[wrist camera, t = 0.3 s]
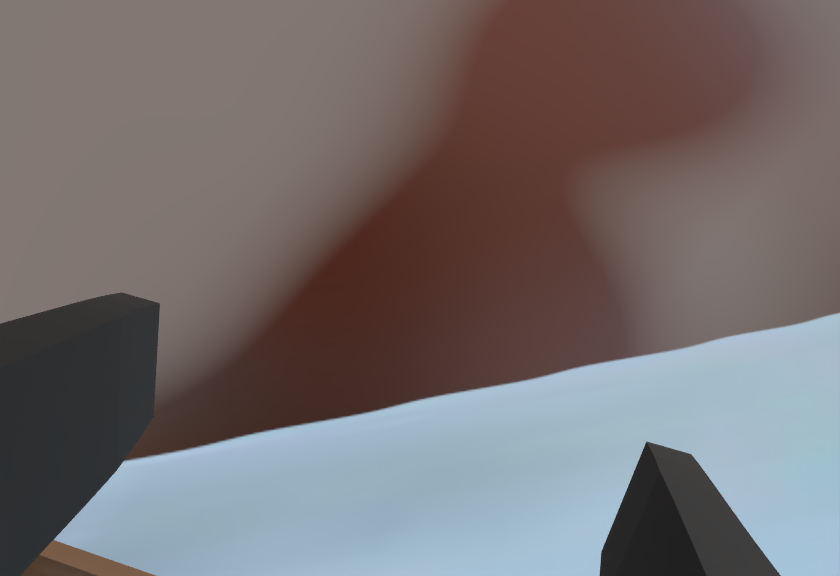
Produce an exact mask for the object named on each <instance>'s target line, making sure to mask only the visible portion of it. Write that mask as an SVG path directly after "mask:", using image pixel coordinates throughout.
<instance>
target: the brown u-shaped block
mask: <svg viewBox="0 0 840 576" xmlns="http://www.w3.org/2000/svg"><path fill="white" fill-rule="evenodd" d="M20 576H155V575H152V574H150V573H147V572H144V571H141V570H138V569H135V568H132V567H129V566H126V565H124V564H121V563H118V562H115V561H112V560H109V559H106V558H103V557H101V556H98V555H95V554H92V553H89V552H86V551H83V550H80V549H77V548H75V547H72V546H69V545H66V544H63V543H60V542H57V541H54V540H53V541H52V542H51V543H50V544H49V545H48V546H47V547H46V548H45V549H44V550H43V551H42V553H41V554H40V555H39V556H38V557H37V558H36V559H35V560H34V561H33V562H32V563H31V564H30V565H29V567H28V568H27V569H26V570H25V571H24V572H23V573H22V574H21V575H20Z"/></svg>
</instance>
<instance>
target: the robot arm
mask: <svg viewBox="0 0 840 576" xmlns="http://www.w3.org/2000/svg"><path fill="white" fill-rule="evenodd" d="M159 308H160V304H159V303H156V302H153V301H149V300H146V299H142V298H138V297H135V296H132V295H128V294H125V293H117V294H111V295H106V296H101V297H97V298H93V299H89V300H85V301H81V302H77V303H73V304H70V305H66V306H62V307H59V308H55V309H52V310H48V311H44V312H41V313H37V314H34V315H30V316H26V317H23V318H19V319H16V320H12V321H8V322H5V323H1V324H0V576H20V575H21V574H22V573H23V572H24V571H25V570H26V569H27V568H28V567H29V565H30V564H31V563H32V562H33V561H34V560H35V559H36V558H37V557H38V556H39V555H40V554H41V553H42V551H43V550H44V549H45V548H46V547H47V546H48V545H49V544H50V543H51V542H52V541H53V540H54V539H55V537H56V536H57V535H58V534H59V533H60V532H61V531H62V530H63V529H64V528H65V527H66V526H67V525H68V523H69V522H70V521H71V520H72V519H73V518H74V517H75V516H76V515H77V514H78V513H79V512H80V510H81V509H82V508H83V507H84V506H85V505H86V504H87V503H88V502H89V501H90V500H91V498H92V497H93V496H94V495H95V494H96V493H97V492H98V491H99V490H100V489H101V487H102V486H103V485H104V484H105V483H106V482H107V481H108V480H109V478H110V477H111V476H112V475H113V474H114V473H115V472H116V471H117V469H118V468H119V466H120V465H121V464H122V462H123V461H124V459H125V458H126V457H127V455H128V454H129V453H130V451H131V450H132V448H133V447H134V445H135V444H136V442H137V441H138V439H139V438H140V437H141V435H142V434H143V432H144V431H145V429H146V427H147V426H148V425H149V423H150V421H151V420H152V419H153V415H154V398H155V380H156V361H157V344H158V325H159ZM600 576H780V574H779V573H778V572H777V570H776V569H775V568H774V566H773V565H772V564H771V563H770V561H769V560H768V559H767V557H766V556H765V555H764V553H763V552H762V551H761V549H760V548H759V547H758V545H757V544H756V543H755V541H754V540H753V538H752V537H751V536H750V534H749V533H748V532H747V530H746V529H745V527H744V526H743V525H742V523H741V522H740V521H739V519H738V518H737V516H736V515H735V514H734V512H733V511H732V509H731V508H730V507H729V505H728V504H727V502H726V501H725V500H724V498H723V497H722V495H721V494H720V493H719V491H718V490H717V488H716V487H715V486H714V484H713V483H712V481H711V480H710V479H709V477H708V476H707V474H706V473H705V472H704V470H703V469H702V468H701V466H700V465H699V464H698V462H697V461H696V460H695V459H694V457H693V456H692V455H691V454H688V453H685V452H681V451H678V450H674V449H671V448H667V447H664V446H660V445H657V444H653V443H650V442H646V444H645V447H644V449H643V452H642V454H641V457H640V459H639V461H638V464H637V466H636V469H635V471H634V474H633V476H632V479H631V481H630V483H629V486H628V488H627V491H626V493H625V496H624V498H623V501H622V503H621V505H620V508H619V510H618V513H617V515H616V518H615V520H614V523H613V525H612V527H611V530H610V532H609V535H608V537H607V540H606V542H605V545H604V547H603V549H602V553H601V566H600Z"/></svg>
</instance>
